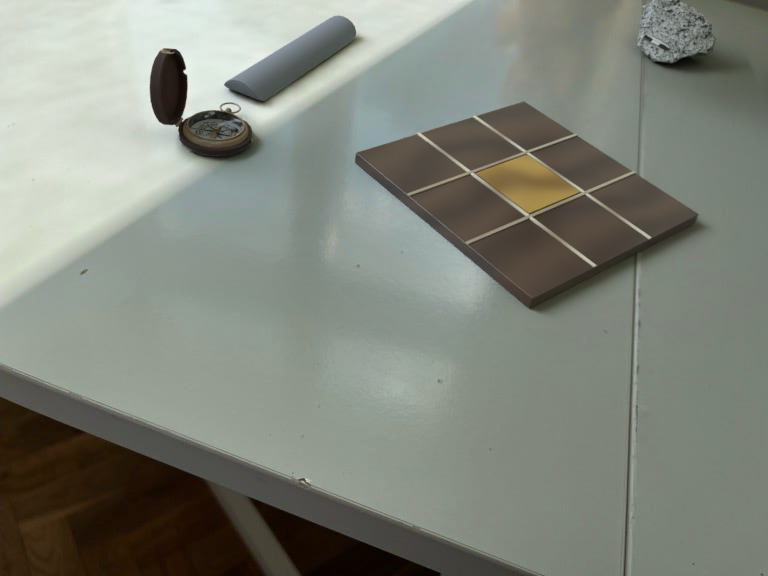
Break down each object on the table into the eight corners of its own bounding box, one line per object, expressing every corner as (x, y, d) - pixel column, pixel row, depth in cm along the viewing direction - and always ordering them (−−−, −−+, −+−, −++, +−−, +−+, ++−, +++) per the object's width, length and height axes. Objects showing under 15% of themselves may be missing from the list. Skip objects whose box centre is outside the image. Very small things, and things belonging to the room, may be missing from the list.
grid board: (694, 223, 67) (699, 213, 67) (529, 308, 56) (533, 297, 55) (521, 110, 78) (524, 100, 78) (354, 162, 67) (355, 151, 67)
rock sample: (621, 21, 89) (679, -34, 89) (606, 41, 97) (658, -10, 96) (685, 86, 89) (743, 32, 88) (664, 101, 97) (717, 51, 96)
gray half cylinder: (358, 37, 86) (360, 22, 85) (258, 106, 72) (258, 88, 71) (325, 26, 87) (326, 10, 86) (220, 91, 73) (220, 73, 72)
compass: (242, 165, 65) (243, 85, 60) (148, 146, 65) (142, 65, 60) (267, 118, 71) (270, 42, 66) (182, 101, 71) (179, 24, 66)
